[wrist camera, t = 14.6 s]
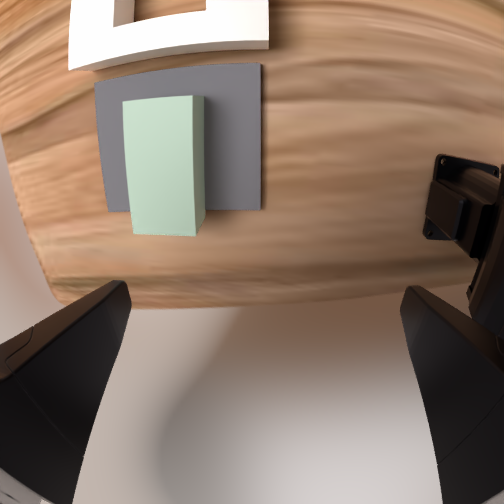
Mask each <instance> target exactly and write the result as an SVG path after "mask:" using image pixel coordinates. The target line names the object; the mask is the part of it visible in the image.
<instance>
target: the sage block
mask: <svg viewBox="0 0 504 504" xmlns="http://www.w3.org/2000/svg"><path fill="white" fill-rule="evenodd" d="M123 130H124V148H125V162H126V174H127V184H128V194H129V203H130V211H131V219H132V226H133V233H134V234H152V235H177V236H196V235H197V233H198V231H199V229H200V227H201V225H202V223H203V221H204V219H205V181H204V96H193V95H192V96H174V97H161V98H150V99H140V100H132V101H124V102H123Z"/></svg>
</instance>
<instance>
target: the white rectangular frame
mask: <svg viewBox="0 0 504 504" xmlns="http://www.w3.org/2000/svg"><path fill="white" fill-rule="evenodd" d="M134 4H135V0H72V3H71V14H70V29H69V70H76V71H96V70H99V69H103V68H107V67H112V66H116V65H121V64H125V63H130V62H135V61H140V60H146V59H152V58H158V57H164V56H171V55H179V54H188V53H197V52H209V51H224V50H253V49H269V16H268V0H206V11H198V12H189V13H182V14H175V15H169V16H163V17H158V18H152V19H147V20H143V21H138V22H134Z"/></svg>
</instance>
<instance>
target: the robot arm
mask: <svg viewBox="0 0 504 504" xmlns="http://www.w3.org/2000/svg"><path fill="white" fill-rule="evenodd" d="M442 159H444V162H443V163H442V164H441V160H442ZM494 170H495V172H494ZM493 172H494V174H493ZM500 173H501V179H499V168H498V167H497V166H495V165H491V164H487V163H483V162H479V161H475V160H470V159H465V158H461V157H456V156H451V155H445V154H439V155H438V156H437V157H436V160H435V168H434V174H433V181H432V182H431V186H430V192H429V198H428V203H427V208H426V219H425V224H424V228H423V235H424V236H425V237H426V238H427V239H431V240H453V241H454V242H455V243H456V244H457V245H458V246H459V247H460V248H461V249H462V250H463V251H464V252H465V253H466V254H467V255H468V256H469V257H470V258H473V259H474V260H475V261H476V262H477V263H478V267H477V270H476V272H475V275H474V278H473V281H472V283H471V285H470V286H469V287H468V290H467V292H466V293H467V297H468V300H469V310H470V314H471V317H472V319H471V318H470V317H468V316H467V315H465V314H464V313H462V312H461V311H459V310H458V309H456V308H454V307H453V306H451V305H450V304H448V303H446V302H445V301H443V300H442V299H440V298H439V297H437V296H435V295H434V294H432V293H430V292H429V291H427V290H426V289H424V288H422V287H421V286H418V285H417V286H408V287H407V288H406V291H405V294H404V297H403V300H402V304H401V307H400V313H401V318H402V323H403V327H404V332H405V336H406V341H407V346H408V350H409V354H410V357H411V361H412V364H413V367H414V371H415V374H416V377H417V381H418V384H419V388H420V392H421V395H422V399H423V402H424V407H425V411H426V415H427V419H428V423H429V427H430V432H431V436H432V441H433V446H434V451H435V456H436V461H437V464H438V465H437V468H438V474H439V479H440V486H441V493H442V500H443V504H504V164H502V165H501V171H500ZM430 230H431V232H430V233H429V234H428V232H429V231H430ZM131 306H132V303H131V298H130V295H129V291H128V287H127V284H126V282H125V281H122V280H113V281H111V282H109V283H107V284H105V285H104V286H102V287H100V288H98V289H96V290H95V291H93V292H91V293H89V294H87V295H86V296H84V297H82V298H80V299H78V300H77V301H75V302H73V303H71V304H70V305H68V306H66V307H64V308H63V309H61V310H59V311H58V312H56V313H54V314H52V315H51V316H49V317H47V318H46V319H44V320H42V321H40V322H39V323H37V324H35V325H34V327H33V326H32V327H30V328H29V329H27V330H25V331H24V332H22V333H20V334H19V335H17V336H15V337H13V338H11V339H9V340H8V341H6V342H4V343H2V344H0V504H40V502H41V499H43V500H45V501H47V502H49V503H51V504H72V502H73V498H74V494H75V489H76V485H77V481H78V477H79V473H80V470H81V466H82V462H83V459H84V457H83V456H84V454H85V451H86V447H87V444H88V440H89V437H90V434H91V431H92V427H93V424H94V421H95V418H96V415H97V411H98V408H99V405H100V402H101V399H102V396H103V394H104V391H105V388H106V385H107V382H108V379H109V377H110V374H111V371H112V368H113V366H114V363H115V360H116V358H117V355H118V352H119V349H120V346H121V343H122V340H123V336H124V332H125V329H126V325H127V321H128V318H129V314H130V311H131Z"/></svg>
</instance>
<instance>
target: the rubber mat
mask: <svg viewBox="0 0 504 504" xmlns="http://www.w3.org/2000/svg"><path fill="white" fill-rule="evenodd" d="M192 95H193V96H204V181H205V210H260V208H261V68H260V63H232V64H213V65H200V66H189V67H180V68H172V69H164V70H157V71H151V72H145V73H139V74H133V75H128V76H123V77H118V78H113V79H109V80H104V81H100V82H96V83H95V105H96V119H97V131H98V141H99V151H100V159H101V167H102V174H103V181H104V188H105V194H106V200H107V206H108V211H109V212H123V211H130V203H129V194H128V184H127V174H126V162H125V148H124V130H123V102H124V101H132V100H140V99H150V98H161V97H174V96H192Z"/></svg>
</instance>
